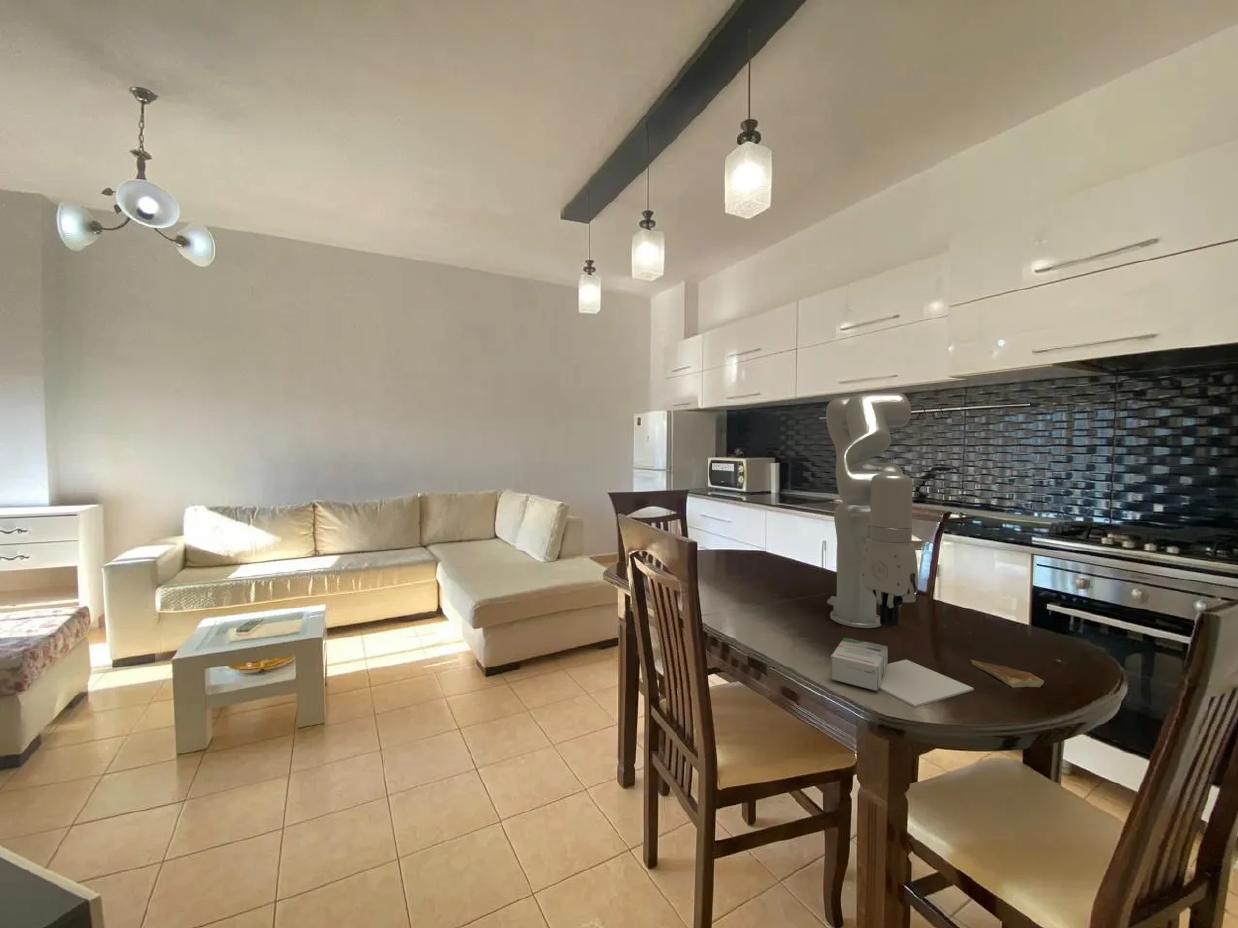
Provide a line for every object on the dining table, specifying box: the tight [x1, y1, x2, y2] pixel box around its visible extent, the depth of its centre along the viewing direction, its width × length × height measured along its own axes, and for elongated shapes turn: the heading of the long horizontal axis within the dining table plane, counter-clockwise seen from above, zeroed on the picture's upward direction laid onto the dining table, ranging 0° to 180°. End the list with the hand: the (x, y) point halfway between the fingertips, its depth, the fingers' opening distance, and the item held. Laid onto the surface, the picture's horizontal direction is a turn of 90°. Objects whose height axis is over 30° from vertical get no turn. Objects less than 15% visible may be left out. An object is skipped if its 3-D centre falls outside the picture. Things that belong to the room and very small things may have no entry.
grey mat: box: [878, 659, 975, 708], centre depth 99 cm, size 14×16×1 cm
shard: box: [969, 658, 1045, 688], centre depth 103 cm, size 11×8×2 cm
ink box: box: [830, 637, 889, 692], centre depth 102 cm, size 8×5×12 cm
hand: (888, 624), depth 103 cm, fingers closed
